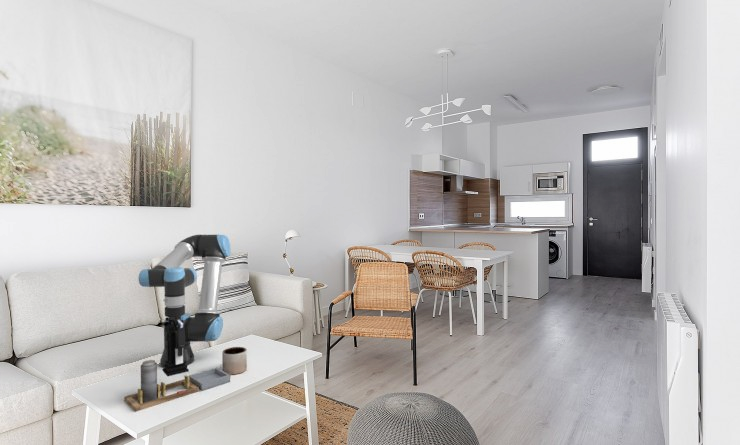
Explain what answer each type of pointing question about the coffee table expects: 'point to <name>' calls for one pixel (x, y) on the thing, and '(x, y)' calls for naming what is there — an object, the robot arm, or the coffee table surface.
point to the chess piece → (173, 353)
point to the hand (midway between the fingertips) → (175, 361)
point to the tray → (209, 379)
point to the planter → (234, 360)
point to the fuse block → (156, 388)
